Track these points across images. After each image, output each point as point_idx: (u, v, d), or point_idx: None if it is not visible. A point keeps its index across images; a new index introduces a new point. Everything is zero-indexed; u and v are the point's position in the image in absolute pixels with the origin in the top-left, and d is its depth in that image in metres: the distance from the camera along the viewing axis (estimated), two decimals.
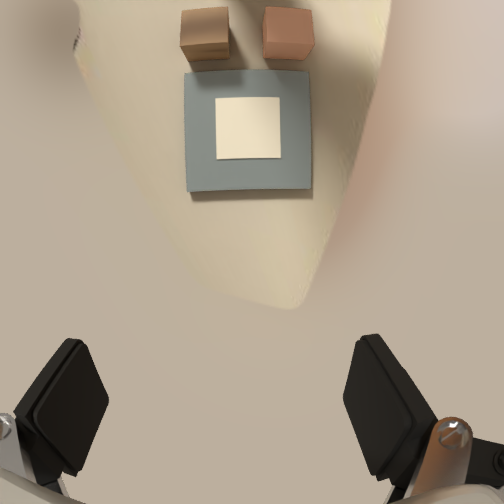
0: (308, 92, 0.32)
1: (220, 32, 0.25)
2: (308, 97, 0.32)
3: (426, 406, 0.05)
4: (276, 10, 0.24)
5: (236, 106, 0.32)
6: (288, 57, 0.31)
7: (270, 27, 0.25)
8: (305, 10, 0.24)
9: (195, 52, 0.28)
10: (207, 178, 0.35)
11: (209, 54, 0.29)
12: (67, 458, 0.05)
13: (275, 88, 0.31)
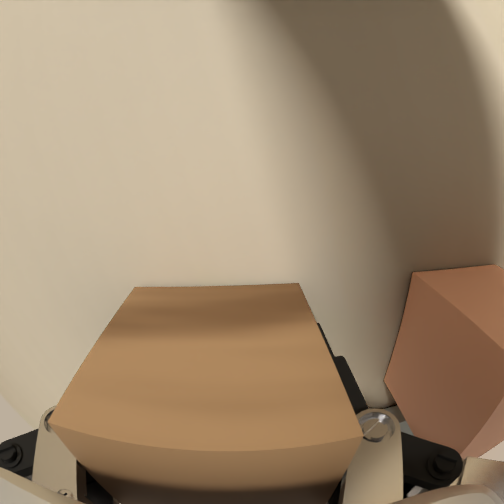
0: None
1: None
2: None
3: (348, 394, 0.06)
4: None
5: None
6: None
7: (473, 444, 0.05)
8: None
9: None
10: None
11: None
12: None
13: None
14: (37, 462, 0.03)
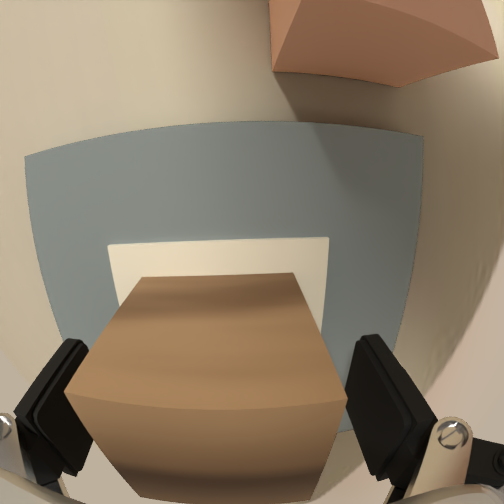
0: (417, 212, 0.10)
1: (286, 489, 0.06)
2: (414, 229, 0.10)
3: (426, 406, 0.05)
4: None
5: (176, 275, 0.10)
6: (358, 74, 0.09)
7: None
8: None
9: None
10: None
11: None
12: (67, 458, 0.05)
13: (316, 201, 0.09)
14: None
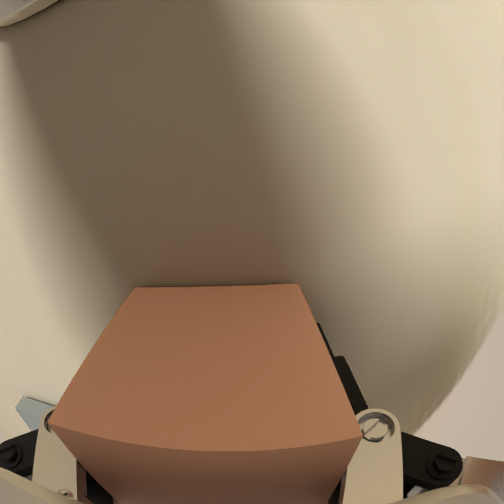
0: None
1: None
2: None
3: (348, 394, 0.06)
4: (113, 454, 0.04)
5: None
6: None
7: (123, 497, 0.04)
8: (318, 451, 0.04)
9: None
10: None
11: None
12: None
13: None
14: (37, 462, 0.03)
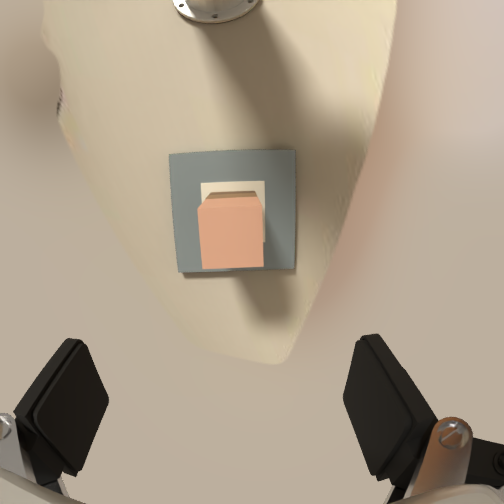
0: (294, 173, 0.35)
1: None
2: (294, 178, 0.35)
3: (426, 406, 0.05)
4: (212, 214, 0.24)
5: (221, 191, 0.35)
6: None
7: (204, 246, 0.25)
8: (253, 208, 0.24)
9: None
10: (196, 260, 0.38)
11: None
12: (67, 458, 0.05)
13: (260, 170, 0.35)
14: None
